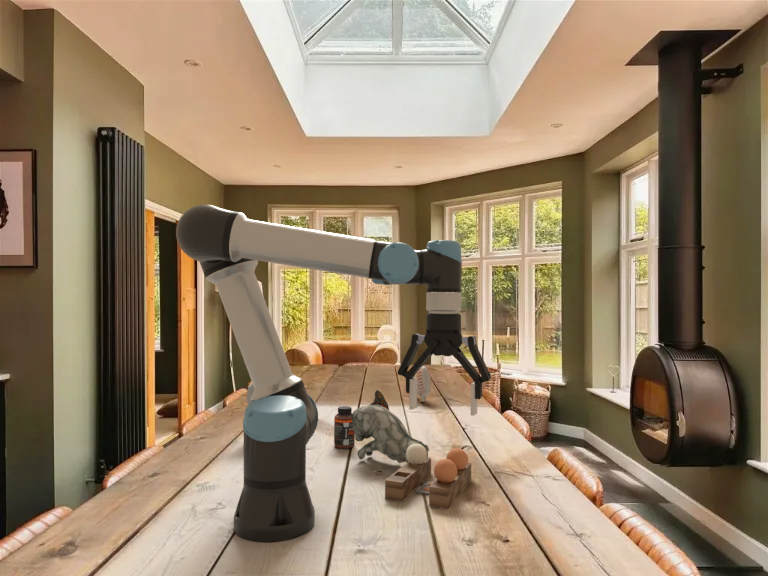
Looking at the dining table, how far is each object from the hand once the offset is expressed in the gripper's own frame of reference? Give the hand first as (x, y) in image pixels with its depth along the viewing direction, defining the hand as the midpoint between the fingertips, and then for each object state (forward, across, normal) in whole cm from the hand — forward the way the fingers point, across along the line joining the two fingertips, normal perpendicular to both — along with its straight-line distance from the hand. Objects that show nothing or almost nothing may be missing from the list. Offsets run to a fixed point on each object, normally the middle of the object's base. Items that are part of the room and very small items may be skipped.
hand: (442, 411), depth 117 cm
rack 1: (+19, +9, -5) cm, 22 cm away
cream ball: (+13, +9, -9) cm, 18 cm away
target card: (+19, +4, -5) cm, 20 cm away
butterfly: (+19, +40, -60) cm, 75 cm away
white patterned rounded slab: (+19, +40, -99) cm, 109 cm away
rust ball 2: (+13, -1, -9) cm, 16 cm away
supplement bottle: (+19, +38, -28) cm, 51 cm away
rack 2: (+19, -1, -5) cm, 19 cm away
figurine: (+19, +20, -18) cm, 33 cm away
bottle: (+19, +64, -22) cm, 71 cm away
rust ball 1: (+13, -1, 0) cm, 13 cm away
